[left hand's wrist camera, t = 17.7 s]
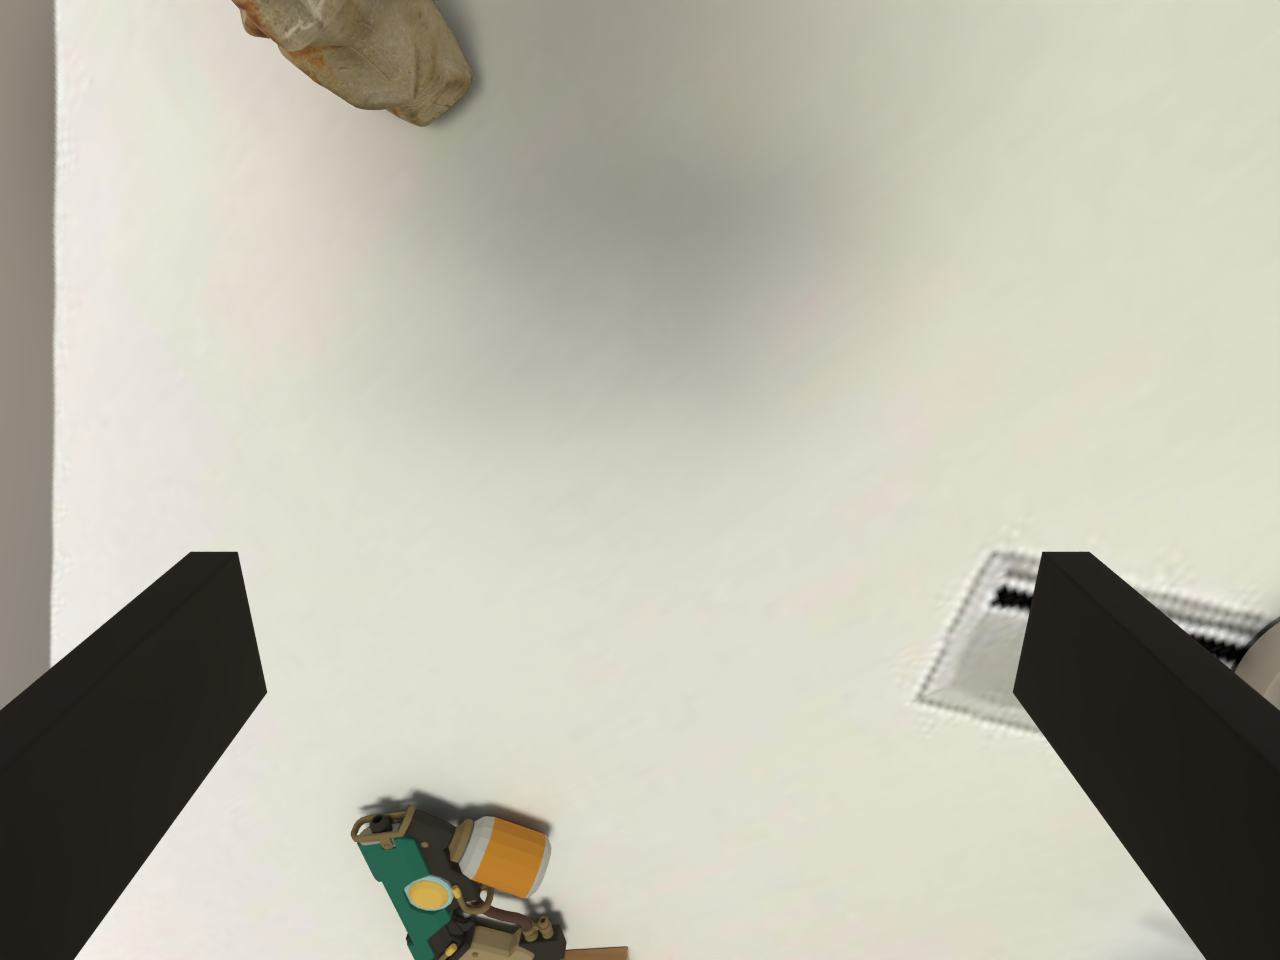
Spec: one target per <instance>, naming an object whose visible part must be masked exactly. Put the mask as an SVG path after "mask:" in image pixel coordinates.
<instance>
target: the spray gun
mask: <svg viewBox="0 0 1280 960" xmlns="http://www.w3.org/2000/svg"><path fill="white" fill-rule="evenodd" d="M398 818H404V819H402V820H401V822H399V820H398ZM367 822H370V826H369V827H367V828H366V829H364V830H363V831H362V832H361V834H360V835H359V836H358V835H357V833H358V830H359V828H360V827H361V826H362V825H363V824H364V823H367ZM351 837H352V839H353V840H354V842H357V844H358V846H359V848H360V850H361V852H362V854H363V856H364V858H365V860H366V862H367V864H368V866H369V868H370V870H371V872H372V874H373V876H374V878H375V879H376V880H377V881H379V882H382V883H383V885H384V887H385V889H386V891H387V893H388V895H389V896H390V898H391V900H392V902H393V904H394V906H395V908H396V910H397V912H398V914H399V916H400V918H401V920H402V922H403V924H404V926H405V928H406V930H407V932H408V934H407V937H406V940H407V945H408V947H409V949H410V951H411V953H412V955H413V957H414V959H415V960H565V950H566V940H565V937H564V935H563V932H562V930H561V927H560V925H551V922H550V920H549V919H548V918H547V917H546V916H543V917H541V918H540V919H539V921H538V923H534V922H533V920H531V919H529V918H527V917H526V916H525V915H522V914H520V913H516V912H510V911H505V910H502V909H498V908H495V907H493V906H490V905H491V902H492V900H493V894H494V888H495V889H498V890H501V891H504V892H506V893H509V894H512V895H515V896H517V897H520V898H528V897H529V896H531V895H532V894H533V893H535V892H536V891H537V889H538V888H539V886H540V884H541V882H542V880H543V877H544V875H545V872H546V869H547V866H548V863H549V859H550V855H551V845H550V843H549V840H548V838H547V836H546V835H545V834H543V833H540V832H537V831H534V830H531V829H528V828H525V827H523V826H520V825H517V824H514V823H511V822H508V821H505V820H502V819H499V818H496V817H489V816H484V817H482V818H480V819H478V820H477V821H475V822H474V823H473V820H471V819H466V820H464V821H463V822H462V823H461V824H460V825H459V826H457V827H455V826H453V825H452V824H450V823H448V822H445V821H443V820H441V819H438V818H436V817H434V816H431V815H429V814H427V813H424V812H422V811H420V810H415V807H413V806H409V807H408V808H407V810H406V811H402V812H394V813H386V814H378V815H370V816H365V817H362V818H360V819H359V820H357V822H356V823H355V824H354V826H353V829H352V831H351ZM478 882H479V883H480V884H478ZM482 890H488V892H487V897H486V900H485V902H484V901H483V900H482V899H481V898H480V893H481V891H482ZM468 901H469V902H471V903H472V904H473V906H474V907H473V906H469V905H467V903H466V902H468ZM459 906H460V907H461V908H462V910H463V911H464V912H466V913H469V914H475V915H476V914H484V915H486V916H488V917H491V918H494V919H497V920H501V921H505V922H511V923H516V924H519V925H521V928H520V929H518V930H517V931H516V932H515V933H514V934H510V933H506V932H502V931H498V930H494V929H490V928H487V927H483V926H476V923H475V921H474V919H473V918H470V919H468V920H463V919H461V918H458V917H457V916H455V915H454V914H453V910H454V909H456V908H457V907H459Z"/></svg>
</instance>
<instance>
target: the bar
mask: <svg viewBox="0 0 1280 960" xmlns="http://www.w3.org/2000/svg"><path fill="white" fill-rule="evenodd" d="M565 960H629V955H628V948H627V947H621V948H603V949H586V950H568V951H565Z"/></svg>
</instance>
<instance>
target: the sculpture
mask: <svg viewBox="0 0 1280 960" xmlns="http://www.w3.org/2000/svg"><path fill="white" fill-rule="evenodd" d="M232 1H233V2H234V3H235V5H236V6H237V7H238V8H239V9H240V13H241V18H242V23H243V26H244V29H245V30H246V32H247V33H248V34H250V35H252V36H256V37H263V38H271V39H272V40H273V41H274V42H275V43H277V44H278V47H279V50H280V51H281V53H282V54H283V56H284V57H286V58H287V59H288V60H289V61H290V62H291V63H292V64H294V65H295V66H296V67H297V68H299V69H300V70H301V71H302V72H304V73H305V74H306V75H308V76H309V77H310V78H311V79H312V80H313V81H314V82H316V83H318V84H319V85H321V86H323V87H325V88H327V89H328V90H330V91H331V92H333V93H334V94H336V95H337V96H339V97H341V98H342V99H344V100H345V101H346V102H348V103H349V104H351V105H353V106H355V107H357V108H360V109H365V110H381V109H386V110H388V111H390V112H391V113H393V114H394V115H396V116H398V117H399V118H401V119H403V120H405V121H407V122H410V123H412V124H415V125H418V126H427V125H429V124H430V123H432V122H433V121H434V120H436V119H437V118H438V117H440V116H441V115H442V114H443V113H445V112H446V111H447V110H448V109H449V108H450V107H452V106H453V105H454V104H455V103H456V102H457V101H458V100H459V99H460V98H461V97H462V96H463V95H464V93H465V92H466V91H467V89H468V88H469V87H470V84H471V78H472V77H473V72H472V69H471V68H470V66H469V64H468V63H467V61H466V59H465V58H464V56H463V53H462V51H461V49H460V46H459V44H458V42H457V40H456V39H455V37H454V35H453V33H452V31H451V29H450V28H449V26H448V24H447V23H446V21H445V19H444V18H443V16H442V15H441V13H440V12H439V10H438V9H437V7H436V6H435V4H434V3H433V1H432V0H232Z"/></svg>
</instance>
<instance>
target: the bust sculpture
mask: <svg viewBox="0 0 1280 960" xmlns="http://www.w3.org/2000/svg"><path fill="white" fill-rule="evenodd" d="M1235 674H1237V675H1238V676H1239V677H1240V678H1241V679H1243V680H1244V681H1245V682H1246V683H1247V684H1249V685H1250V686H1251V687H1252V688H1253V689H1255V690H1256V691H1257V692H1258V693H1259V694H1261V695H1262V696H1263V697H1264V698H1265V699H1267V700H1268V701H1269V702H1270V703H1271V704H1273V705H1274V706H1275V707H1276V708H1277V709H1279V710H1280V622H1279V623H1277V624H1276V625H1274V626H1273V627H1272V628H1271V629H1269V630H1268V631H1267V632H1266V633H1265V634H1263V635H1262V636H1261V637H1260V638H1259V639H1258V640H1257V641H1256V642H1255V643H1254V644H1253V645H1252V646H1251V648H1250V649H1249V650H1248V651H1247V653H1246V654H1245V655H1244V657H1243V658H1242V660H1241V661H1240V663H1239V665H1238V667H1237V669H1236V671H1235Z"/></svg>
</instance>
